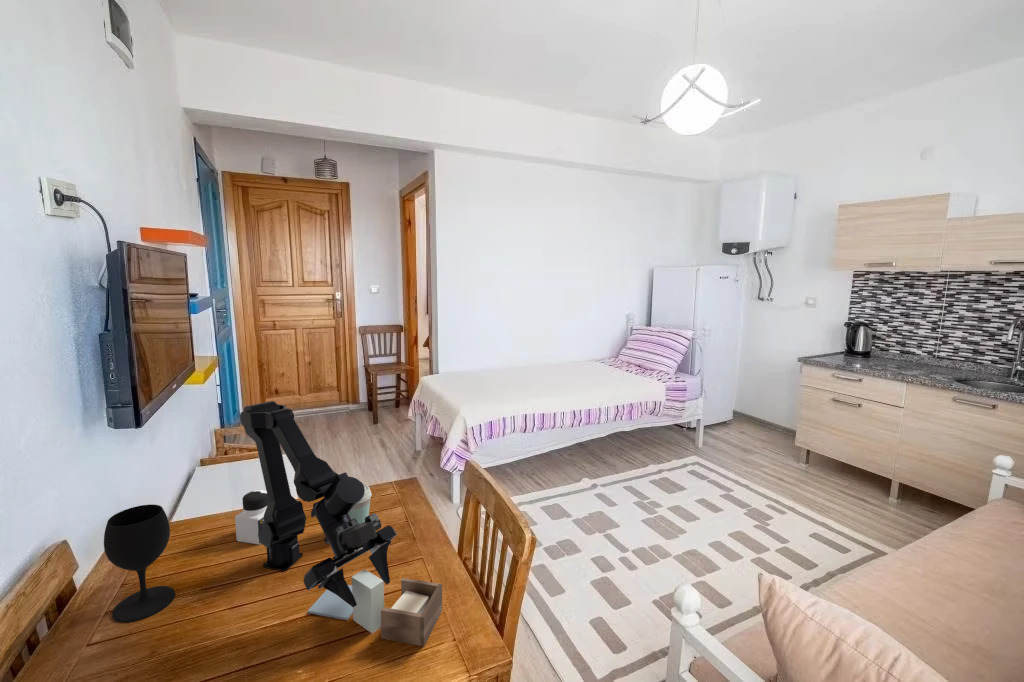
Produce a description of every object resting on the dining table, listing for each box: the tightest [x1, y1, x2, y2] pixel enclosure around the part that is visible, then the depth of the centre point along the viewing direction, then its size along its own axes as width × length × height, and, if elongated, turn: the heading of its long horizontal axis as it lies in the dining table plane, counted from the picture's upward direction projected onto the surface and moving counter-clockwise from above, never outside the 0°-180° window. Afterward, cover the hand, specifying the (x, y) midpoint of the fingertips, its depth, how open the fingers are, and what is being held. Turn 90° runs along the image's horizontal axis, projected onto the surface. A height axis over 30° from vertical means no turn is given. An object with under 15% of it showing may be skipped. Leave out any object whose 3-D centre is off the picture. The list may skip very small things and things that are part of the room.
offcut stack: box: [391, 591, 429, 614], centre depth 90 cm, size 6×6×4 cm
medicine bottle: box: [234, 489, 269, 545], centre depth 119 cm, size 7×7×12 cm
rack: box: [380, 577, 443, 647], centre depth 90 cm, size 9×10×6 cm
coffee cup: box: [349, 483, 373, 524], centre depth 122 cm, size 8×8×12 cm
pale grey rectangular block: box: [351, 569, 385, 634], centre depth 90 cm, size 6×3×10 cm, turn 55°
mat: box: [307, 584, 353, 621], centre depth 96 cm, size 9×9×1 cm
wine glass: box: [103, 504, 176, 624], centre depth 93 cm, size 10×10×20 cm
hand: (372, 594), depth 89 cm, fingers open, 8 cm apart
